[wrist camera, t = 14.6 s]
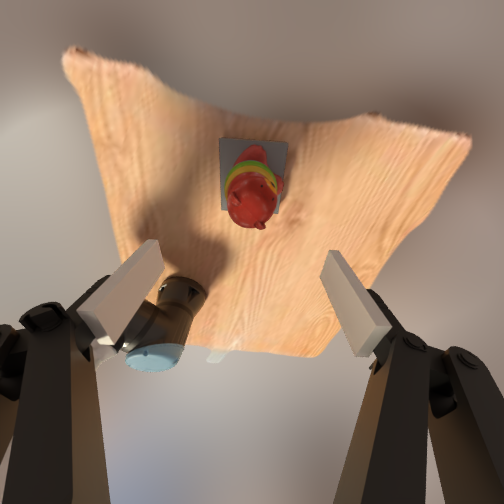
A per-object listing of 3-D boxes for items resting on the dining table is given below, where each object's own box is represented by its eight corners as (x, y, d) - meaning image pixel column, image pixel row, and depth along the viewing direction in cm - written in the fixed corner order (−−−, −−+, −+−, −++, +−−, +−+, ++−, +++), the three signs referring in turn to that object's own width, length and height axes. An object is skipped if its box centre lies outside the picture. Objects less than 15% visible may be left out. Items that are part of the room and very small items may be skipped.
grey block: (223, 204, 45) (221, 210, 42) (222, 137, 38) (219, 138, 34) (276, 207, 45) (278, 213, 42) (285, 142, 38) (288, 143, 34)
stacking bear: (287, 187, 39) (306, 222, 24) (248, 213, 42) (244, 258, 27) (258, 138, 34) (259, 144, 19) (217, 172, 38) (192, 199, 23)
